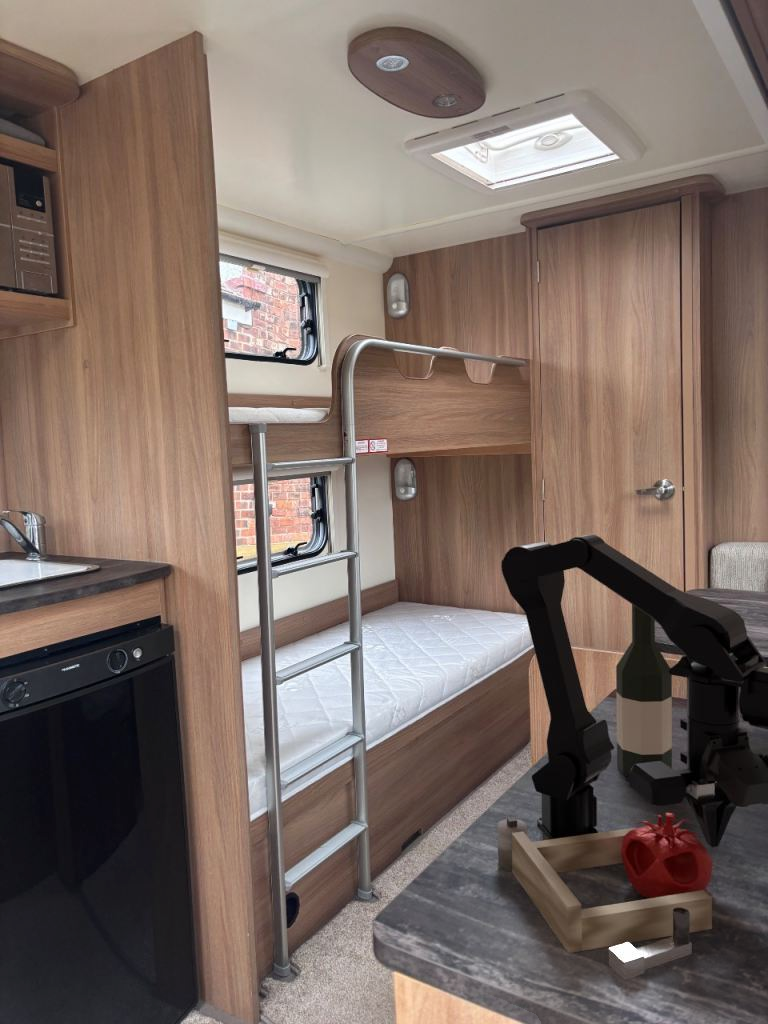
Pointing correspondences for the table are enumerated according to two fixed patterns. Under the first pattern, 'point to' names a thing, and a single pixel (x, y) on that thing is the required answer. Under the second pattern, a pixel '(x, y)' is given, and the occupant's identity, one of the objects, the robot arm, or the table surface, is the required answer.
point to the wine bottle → (643, 699)
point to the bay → (563, 910)
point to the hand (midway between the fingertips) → (712, 845)
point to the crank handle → (653, 949)
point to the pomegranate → (665, 859)
